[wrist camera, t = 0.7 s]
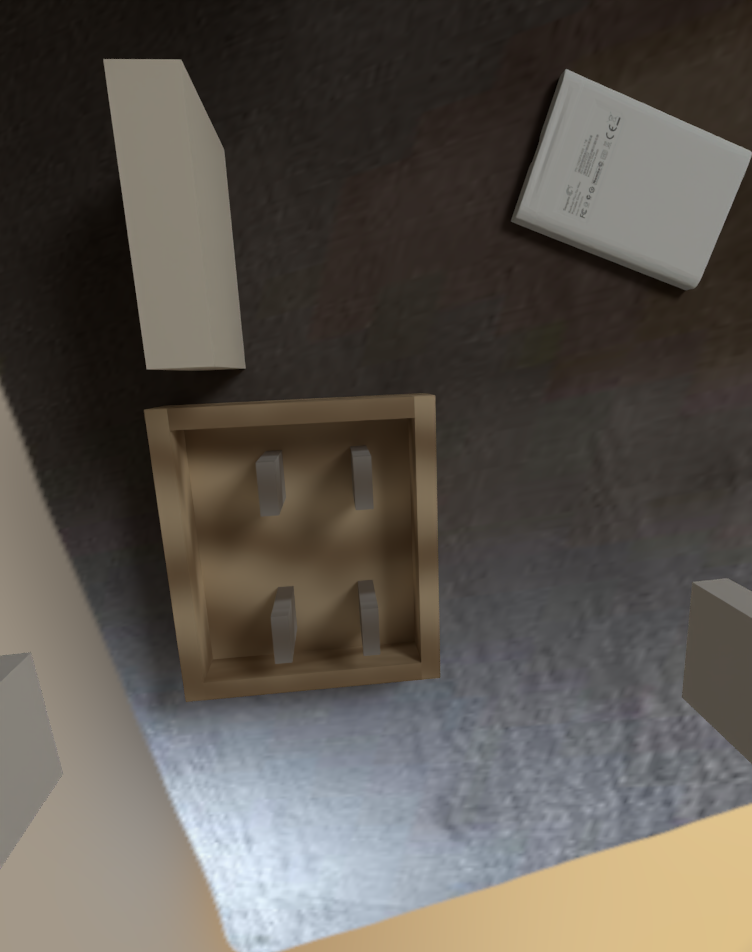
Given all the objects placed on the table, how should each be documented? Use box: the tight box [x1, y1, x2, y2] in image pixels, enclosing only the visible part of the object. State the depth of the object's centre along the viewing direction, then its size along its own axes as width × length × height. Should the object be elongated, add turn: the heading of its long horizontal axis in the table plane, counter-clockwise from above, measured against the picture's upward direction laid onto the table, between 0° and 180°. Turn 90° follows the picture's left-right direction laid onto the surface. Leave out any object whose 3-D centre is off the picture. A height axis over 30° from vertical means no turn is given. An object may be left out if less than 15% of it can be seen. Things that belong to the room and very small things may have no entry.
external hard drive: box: [511, 69, 752, 290], centre depth 29 cm, size 2×8×12 cm
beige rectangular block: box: [103, 59, 246, 371], centre depth 24 cm, size 12×3×8 cm, turn 3°
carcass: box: [144, 393, 440, 702], centre depth 30 cm, size 18×16×5 cm
